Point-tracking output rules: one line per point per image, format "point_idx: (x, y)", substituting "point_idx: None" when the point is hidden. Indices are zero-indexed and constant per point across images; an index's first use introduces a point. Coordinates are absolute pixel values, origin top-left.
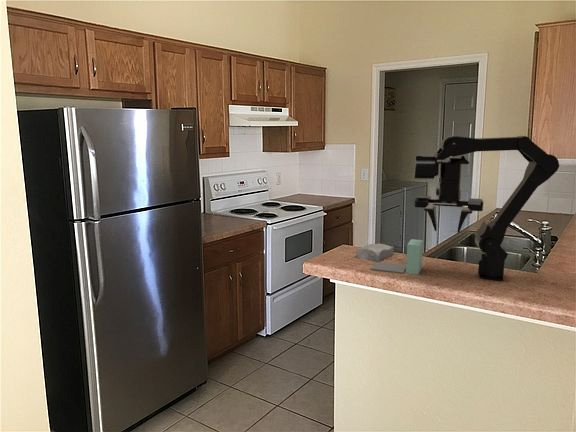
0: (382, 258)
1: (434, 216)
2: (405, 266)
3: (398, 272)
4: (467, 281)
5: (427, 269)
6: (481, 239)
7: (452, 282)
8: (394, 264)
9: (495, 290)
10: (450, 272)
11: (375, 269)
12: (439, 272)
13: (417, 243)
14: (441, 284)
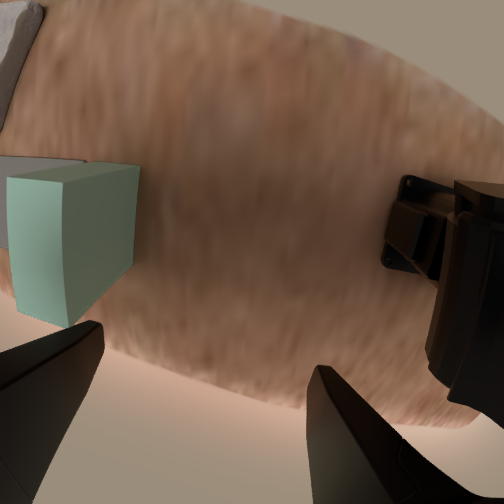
0: (6, 104)
1: (33, 493)
2: None
3: None
4: (323, 310)
5: (165, 178)
6: (450, 388)
7: (263, 333)
8: (40, 168)
9: (387, 370)
10: (269, 200)
11: (7, 248)
12: (218, 212)
13: (48, 284)
14: (222, 358)
